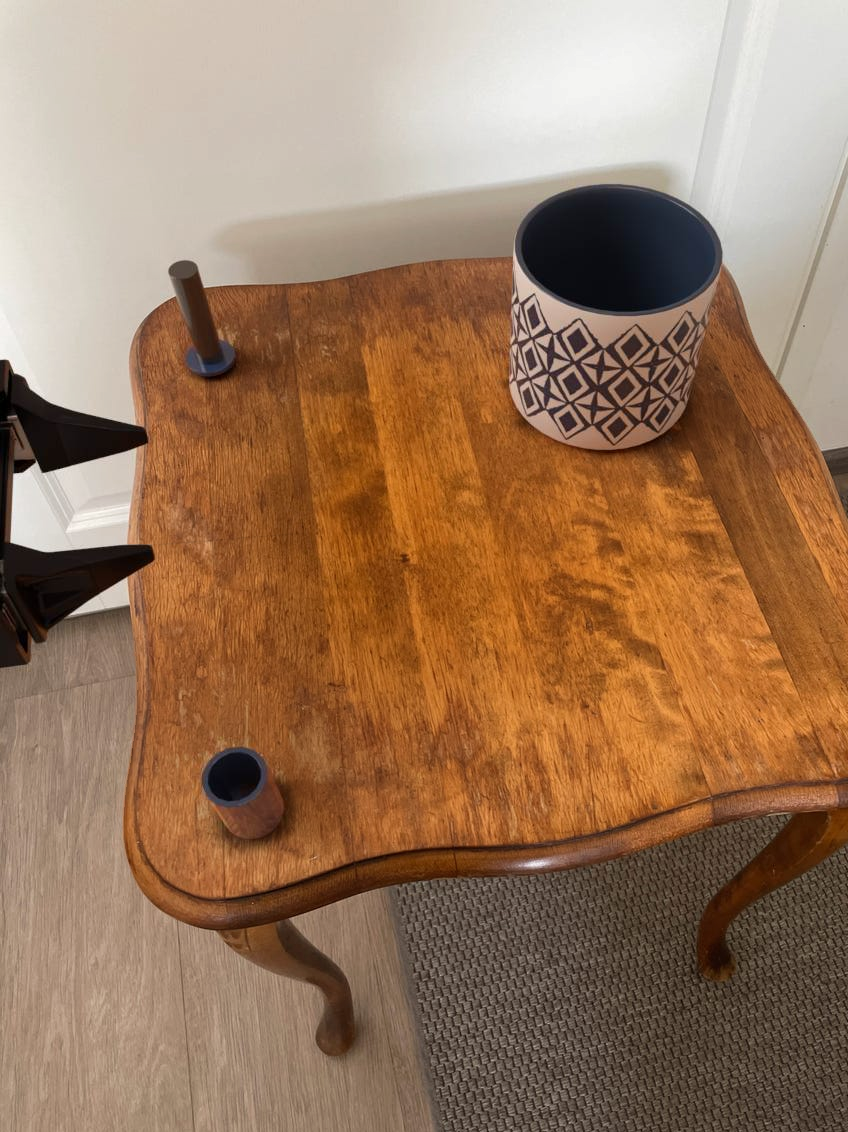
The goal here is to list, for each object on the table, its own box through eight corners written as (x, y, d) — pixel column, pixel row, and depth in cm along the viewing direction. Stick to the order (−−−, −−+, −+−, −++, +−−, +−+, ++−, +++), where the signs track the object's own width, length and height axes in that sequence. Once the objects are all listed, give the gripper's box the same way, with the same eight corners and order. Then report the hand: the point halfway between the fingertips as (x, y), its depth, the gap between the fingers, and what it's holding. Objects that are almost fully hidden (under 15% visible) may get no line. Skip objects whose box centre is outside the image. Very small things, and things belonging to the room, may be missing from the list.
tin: (222, 842, 61) (199, 809, 56) (225, 785, 64) (203, 749, 59) (283, 836, 62) (266, 803, 57) (284, 780, 64) (267, 743, 59)
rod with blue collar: (187, 383, 84) (153, 288, 75) (189, 349, 86) (157, 253, 77) (236, 379, 84) (208, 285, 75) (238, 346, 86) (211, 250, 77)
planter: (685, 332, 87) (718, 187, 75) (690, 460, 79) (729, 322, 66) (514, 322, 88) (520, 177, 75) (502, 448, 79) (506, 309, 67)
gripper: (-251, 567, 41) (123, 526, 44) (-190, 291, 50) (115, 273, 53) (-134, 691, 50) (168, 651, 53) (-101, 439, 60) (153, 417, 63)
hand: (150, 491), depth 55 cm, fingers open, 9 cm apart
